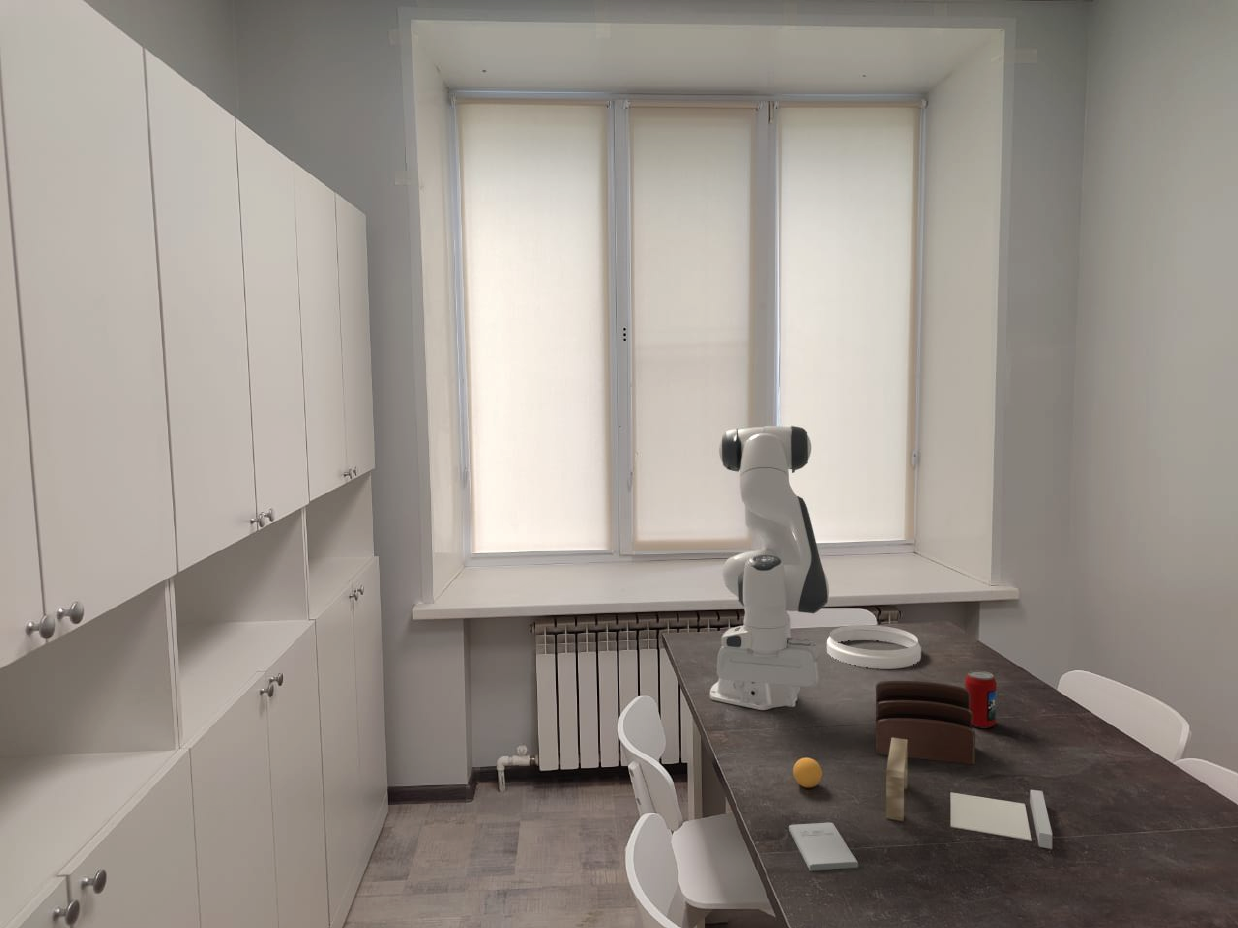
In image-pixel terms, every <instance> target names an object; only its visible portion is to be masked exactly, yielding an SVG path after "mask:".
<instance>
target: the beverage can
mask: <svg viewBox="0 0 1238 928" xmlns="http://www.w3.org/2000/svg"><path fill="white" fill-rule="evenodd" d="M964 680H965V682H964V689H967V690H968V691H969V692H970V710H971V711H972V714H973V719H972V725H973V726H972V727H974V728H975V727H976V728H979V727H980V728H979V729H987V728H988V727H989V728H991V727H993V726H995V725H996V723H997V696H998V695H997V688H998V687H997V685H998V684H997V683H998V682H997V680H996V679H995V676H994V674H992V673H991V672H990V671H989V672H988V671H985V670H979V669H978V670H977V669H976V670H971V671H969V672H968V674H967V675H966V677H965V679H964Z"/></svg>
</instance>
